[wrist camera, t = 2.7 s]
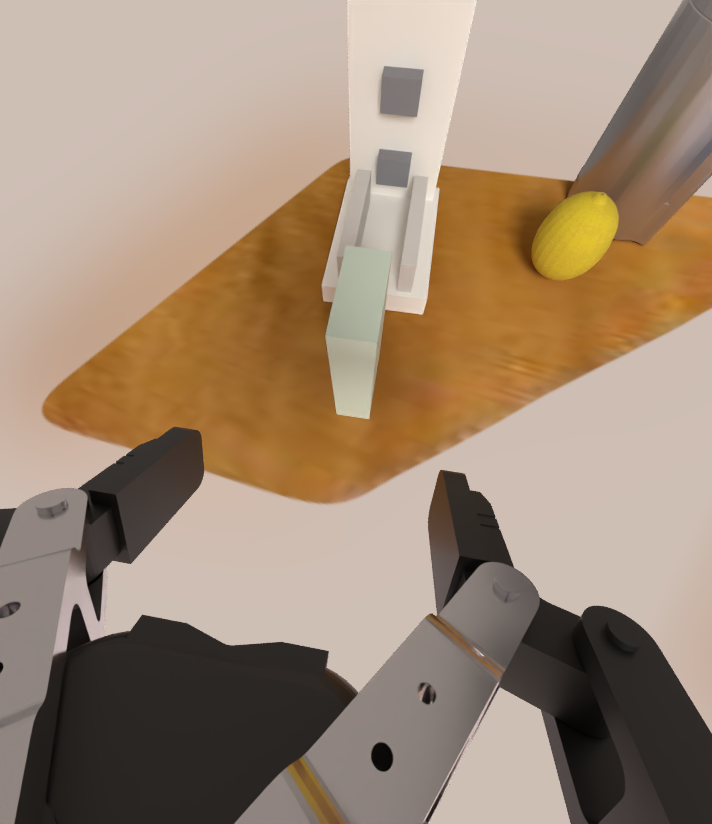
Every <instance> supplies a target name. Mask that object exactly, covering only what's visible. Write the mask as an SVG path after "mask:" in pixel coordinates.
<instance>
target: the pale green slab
mask: <svg viewBox="0 0 712 824" xmlns="http://www.w3.org/2000/svg"><path fill="white" fill-rule="evenodd" d="M391 258H392V251H387V250H379V249H371V248H363V247H355V246H347V245H346V248H345V253H344V257H343V261H342V265H341V270H340V274H339V278H338V283H337V287H336V291H335V296H334V300H333V304H332V309H331V313H330V317H329V322H328V326H327V330H326V335H325V338H326V345H327V352H328V358H329V365H330V372H331V379H332V386H333V392H334V399H335V406H336V413H337V414H339V415H345V416H352V417H358V418H365V419H369V417H370V411H371V405H372V398H373V392H374V386H375V380H376V374H377V367H378V361H379V355H380V347H381V339H382V331H383V323H384V315H385V307H386V299H387V291H388V282H389V274H390V266H391Z"/></svg>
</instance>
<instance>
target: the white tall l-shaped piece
mask: <svg viewBox="0 0 712 824" xmlns="http://www.w3.org/2000/svg"><path fill="white" fill-rule="evenodd" d="M476 3H477V0H347V13H348V14H347V17H348V76H349V132H350V133H349V135H350V178H348V182H347V186H346V190H345V194H344V198H343V202H342V206H341V210H340V214H339V218H338V222H337V226H336V230H335V234H334V238H333V242H332V246H331V250H330V254H329V258H328V262H327V266H326V270H325V274H324V278H323V282H322V294H323V301H325V302H332V303H333V300H334V296H335V291H336V287H337V283H338V278H339V274H340V270H341V265H342V261H343V257H344V253H345V248H346V245H347V246H355V247H363V248H371V249H379V250H387V251H392V258H391V266H390V274H389V282H388V291H387V299H386V307H385V310H391V311H399V312H406V313H414V314H421V315H423V312H424V309H425V305H426V302H427V295H428V286H429V277H430V269H431V260H432V251H433V242H434V233H435V224H436V216H437V207H438V198H439V189H440V188H436V184H437V180H438V175H439V171H440V166H441V162H442V157H443V152H444V148H445V143H446V139H447V135H448V130H449V126H450V121H451V116H452V111H453V107H454V103H455V98H456V94H457V89H458V85H459V80H460V76H461V71H462V67H463V62H464V58H465V53H466V49H467V44H468V40H469V35H470V31H471V26H472V22H473V17H474V13H475V8H476Z"/></svg>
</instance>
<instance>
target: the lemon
mask: <svg viewBox="0 0 712 824" xmlns="http://www.w3.org/2000/svg"><path fill="white" fill-rule="evenodd" d="M618 221H619V214H618V210H617V207H616V205H615V203H614V202H613V200H612V199H611V198H610V197H608V196H607V194H606V193H604V192H595V191H587V192H581V193H577V194H574V195H572V196H570V197H568V198H567V199H565V200H563V201H562V202H561V203H559V204H558V205H557V206H556V207H555V208H554V209H553V210H552V211H551V212H550V214H549V215H548V216H547V217H546V218H545V219H544V221H543V222H542V224H541V225H540V227H539V229H538V231H537V233H536V235H535V238H534V240H533V243H532V250H531V257H532V261H533V265H534V267H535V268H536V270H537V271H538V272H539V273H540V274H541V275H542V276H544V277H546V278H548V279H551V280H567V279H572V278H575V277H577V276H579V275H581V274H583V273H585V272H586V271H588V270H589V269H590V268H591V267H592V266H593V265H594V264H596V263H597V262H598V261H599V260H600V259H601V257H602V256H603V255H604V254H605V252H606V251H607V249H608V248H609V246H610V244H611V242H612V240H613V238H614V236H615V234H616V231H617V228H618Z"/></svg>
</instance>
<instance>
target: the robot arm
mask: <svg viewBox="0 0 712 824" xmlns="http://www.w3.org/2000/svg"><path fill="white" fill-rule="evenodd" d="M711 175H712V0H683V1H682V2H681V4H680V6H679V8H678V9H677V11H676V12H675V14H674V16H673V17H672V19H671V21H670V22H669V24H668V26H667V28H666V29H665V31H664V33H663V34H662V36H661V38H660V39H659V41H658V43H657V44H656V46H655V48H654V49H653V51H652V53H651V54H650V56H649V58H648V59H647V61H646V63H645V64H644V66H643V68H642V69H641V71H640V73H639V74H638V76H637V78H636V79H635V81H634V83H633V84H632V86H631V88H630V90H629V91H628V93H627V94H626V96H625V98H624V99H623V101H622V103H621V105H620V106H619V108H618V110H617V111H616V113H615V115H614V116H613V118H612V120H611V121H610V123H609V125H608V126H607V128H606V130H605V131H604V133H603V135H602V136H601V138H600V140H599V141H598V143H597V145H596V146H595V148H594V150H593V151H592V153H591V155H590V156H589V158H588V160H587V162H586V163H585V165H584V166H583V167H582V169H581V171H580V172H579V174H578V176H577V178H576V180H575V182H574V183H573V185H572V187H571V189H570V190H569V192H568V196H567V198H568V197H570V196H572V195H574V194H577V193H581V192H587V191H595V192H604V193H606V194H607V196H608V197H610V198H611V199H612V200H613V202H614V203H615V205H616V207H617V210H618V214H619V221H618V228H617V231H616V234H615V236H614V238H613V239H616V240H630V241H635V242H637V243H639V244H641V245H645V244H646V243H647V242H648V241H649V240H650V239H651V238H652V237H653V236H654V235H655V234H656V233H657V232H658V231H659V230H660V229H661V228H662V227H663V226H664V225H665V224H666V222H667V221H668V220H669V219H670V218H671V217H672V216H673V215H674V214H675V213H676V212H677V211H678V210H679V209H680V208H681V207H682V206H683V205H684V204H685V203H686V202H687V201H688V200H689V198H690V197H691V196H692V195H693V194H694V193H695V192H696V191H697V190H698V189H699V188H700V187H701V186H702V185H703V184H704V183H705V182H706V180H708V179H709V178H710V177H711ZM203 475H204V463H203V451H202V438H201V434H200V432H199V431H198V430H192V429H186V428H180V427H173V428H171V429H170V430H169V431H167V432H166V433H165V434H163V435H162V436H161V437H159V438H158V439H154V440H151V441H149V442H146V443H144V444H141V445H139V446H137V447H136V448H135V449H133V450H132V451H130V452H129V453H128V454H127V455H126V456H123V457H122V458H120V459H119V460H118V461H116V464H112V465H111V466H109V467H108V468H106V469H105V470H104V471H102V472H101V473H99V474H98V475H97V476H95V477H94V478H92V479H91V480H89V481H88V482H87V483H85V484H84V485H82V486H81V487H80V488H78V489H74V488H62V489H56V490H51V491H48V492H44V493H41V494H39V495H36V496H34V497H32V498H30V499H28V500H27V501H25V502H24V503H23V504H21V505H20V506H19V507H18V508H13V509H0V824H429V822H430V820H431V818H432V816H433V814H434V813H435V810H436V809H437V807H438V805H439V803H440V801H441V799H442V797H443V795H444V793H445V792H446V790H447V788H448V786H449V783H450V782H451V780H452V778H453V776H454V774H455V772H456V770H457V768H458V766H459V764H460V762H461V760H462V758H463V756H464V754H465V752H466V750H467V748H468V747H469V745H470V743H471V741H472V739H473V737H474V735H475V733H476V731H477V729H478V728H479V726H480V724H481V722H482V720H483V718H484V716H485V714H486V712H487V710H488V709H489V707H490V705H491V702H492V701H493V699H494V697H495V695H496V693H497V691H498V689H499V688H500V687H501V688H503V689H504V690H506V691H508V692H510V693H512V694H514V695H515V696H517V697H519V698H521V699H523V700H524V701H526V702H528V703H530V704H532V705H534V706H535V707H537V708H539V709H541V712H542V716H543V719H544V723H545V727H546V730H547V735H548V738H549V742H550V746H551V750H552V754H553V757H554V761H555V765H556V769H557V773H558V776H559V780H560V784H561V788H562V792H563V796H564V799H565V803H566V807H567V811H568V815H569V819H570V822H571V824H712V734H711V732H710V730H709V729H708V727H707V725H706V724H705V722H704V720H703V719H702V717H701V716H700V714H699V712H698V711H697V709H696V707H695V706H694V704H693V702H692V701H691V699H690V697H689V696H688V695H687V693H686V691H685V689H684V688H683V686H682V684H681V683H680V681H679V679H678V678H677V676H676V675H675V673H674V671H673V670H672V668H671V666H670V665H669V663H668V661H667V660H666V658H665V657H664V655H663V653H662V652H661V650H660V649H659V647H658V645H657V644H656V642H655V641H654V640H653V638H652V637H651V636H650V635H649V634H648V633H647V632H646V631H645V630H644V629H643V628H642V627H641V626H640V625H639V624H637V623H636V622H635V621H633V620H632V619H631V618H629V617H627V616H626V615H624V614H622V613H620V612H618V611H616V610H614V609H611V608H608V607H604V606H591V607H588V608H587V609H586V610H585V611H584V612H583V614H582V616H581V617H580V616H578V615H575V614H573V613H571V612H568V611H566V610H564V609H561V608H559V607H557V606H555V605H552V604H550V603H548V602H546V601H545V600H543V599H541V598H540V597H539V594H538V591H537V590H536V588H535V586H534V585H533V583H532V582H531V581H530V580H529V579H528V578H527V577H526V576H525V575H524V574H523V573H521V572H520V571H518V570H517V569H515V568H514V566H513V563H512V561H511V558H510V555H509V552H508V550H507V547H506V544H505V541H504V539H503V536H502V533H501V531H500V530H499V525H498V523H497V520H496V519H495V515H494V512H493V509H492V506H491V504H490V503H489V502H488V501H487V499H486V498H485V497H484V496H483V495H482V494H481V493H480V492H476V491H470V489H469V486H468V483H467V479H466V476H465V474H463V473H457V472H451V471H445V470H440V472H439V475H438V478H437V482H436V486H435V490H434V494H433V498H432V502H431V506H430V511H429V517H428V531H429V540H430V550H431V559H432V569H433V579H434V588H435V599H436V608H437V616H434V615H433V614H429V615H428V616H426V617H425V618H424V619H423V620H422V621H421V623H420V624H419V625H418V626H417V627H416V628H415V629H414V631H413V632H412V633H411V634H410V635H409V636H408V637H407V639H406V640H405V641H404V642H403V643H402V644H401V645H400V647H399V648H398V649H397V650H396V651H395V652H394V653H393V655H392V656H391V657H390V658H389V659H388V660H387V661H386V663H385V664H384V665H383V666H382V667H381V668H380V670H379V671H378V672H377V673H376V674H375V675H374V676H373V677H372V679H371V680H370V681H369V682H368V683H367V684H366V686H365V687H364V688H363V689H362V690H361V691H360V692H359V693H358V692H357V691H356V689H355V688H354V687H353V686H352V685H350V684H349V683H348V682H347V681H346V680H345V679H343V678H342V677H341V676H339V675H338V674H337V673H335V672H333V671H331V670H330V669H328V668H327V659H328V652H329V651H325V650H320V649H315V648H310V647H305V646H300V645H295V644H289V643H284V642H275V643H263V644H262V643H261V644H249V645H235V646H230V645H226V644H223V643H222V642H220V641H218V640H216V639H214V638H212V637H210V636H209V635H207V634H205V633H203V632H202V631H200V630H198V629H196V628H194V627H192V626H191V625H189V624H187V623H182V622H177V621H171V620H167V619H162V618H156V617H151V616H146V615H142V616H141V617H140V619H139V620H138V621H137V623H136V624H135V626H134V627H133V628H132V630H131V631H126V632H121V633H116V634H111V635H108V636H105V612H106V594H107V571H106V567H107V566H108V565H109V564H110V563H111V561H118V562H123V563H128V564H131V563H132V562H133V561H134V560H135V559H136V558H137V556H138V555H139V554H140V553H141V552H142V551H143V550H144V548H145V547H146V546H147V545H148V544H149V543H150V542H151V541H152V539H153V538H154V537H155V536H156V535H157V534H158V533H159V532H160V530H161V529H162V528H163V527H164V526H165V525H166V523H168V521H169V520H170V519H171V518H172V517H173V516H174V515H175V514H176V512H177V511H178V510H179V509H180V508H181V507H182V506H183V505H184V503H185V502H186V501H187V500H188V499H189V498H190V497H191V495H192V494H193V493H194V492H195V491H196V490H197V489H198V487H199V486H200V484H201V482H202V479H203Z"/></svg>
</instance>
